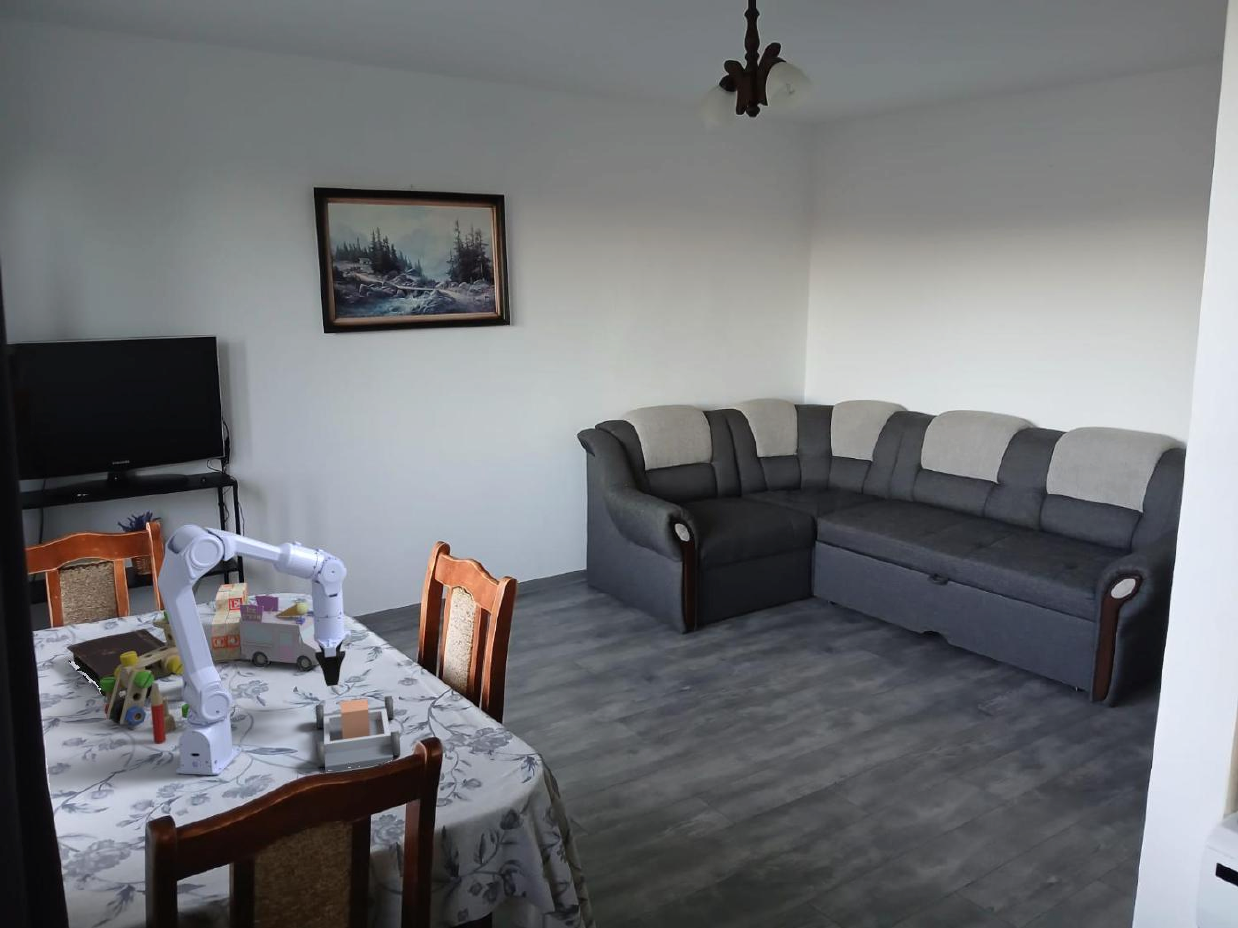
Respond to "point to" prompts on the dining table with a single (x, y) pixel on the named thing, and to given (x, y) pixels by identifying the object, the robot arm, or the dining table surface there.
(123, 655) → the toy construction set
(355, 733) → the light orange block
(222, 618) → the stack of blocks
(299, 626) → the toy vehicle
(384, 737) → the chassis
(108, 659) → the diary
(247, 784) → the dining table surface
